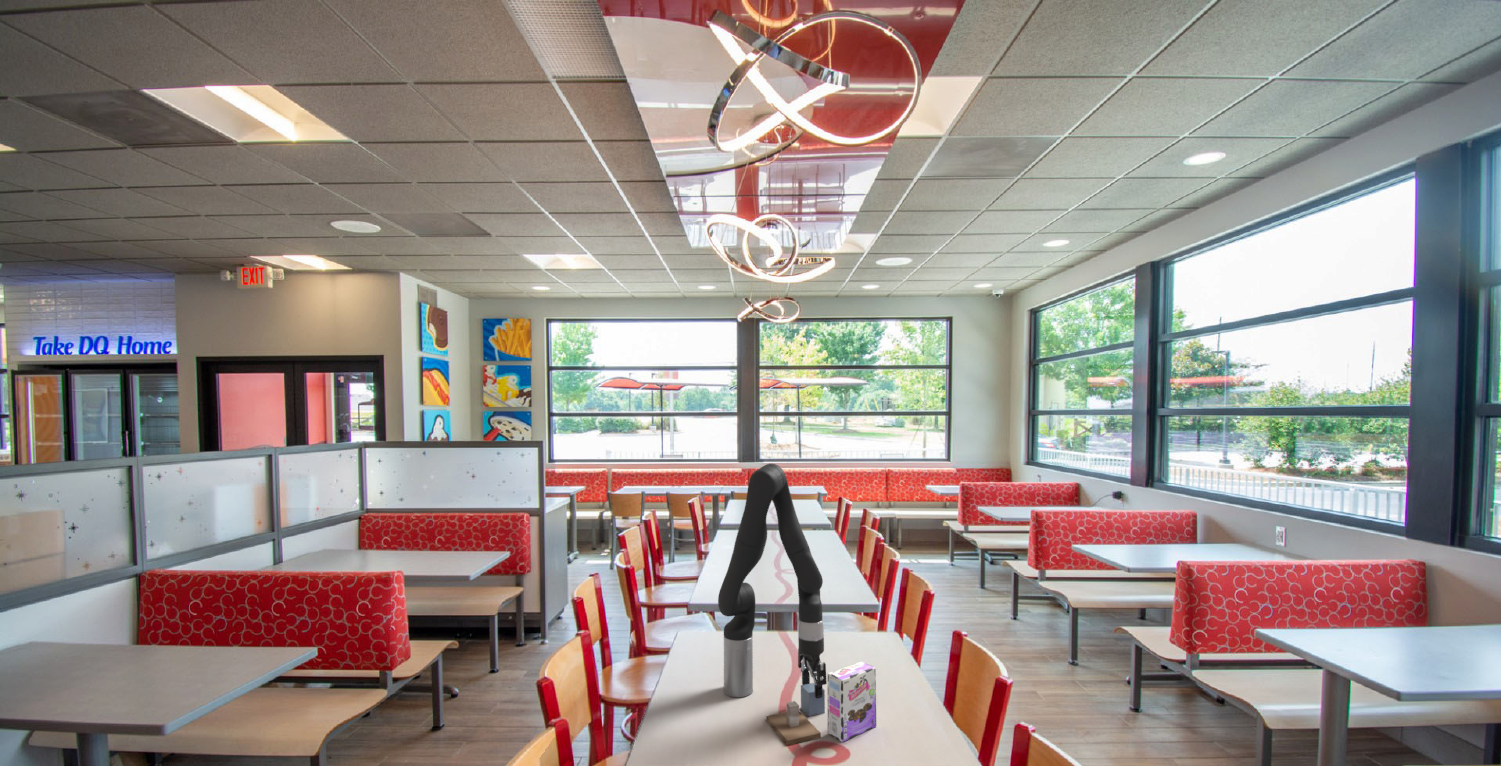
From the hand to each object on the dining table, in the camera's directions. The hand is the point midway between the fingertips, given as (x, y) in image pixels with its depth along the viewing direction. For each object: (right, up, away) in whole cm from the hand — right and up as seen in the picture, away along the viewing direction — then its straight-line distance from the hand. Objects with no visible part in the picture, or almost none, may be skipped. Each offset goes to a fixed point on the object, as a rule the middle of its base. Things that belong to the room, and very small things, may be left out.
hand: (812, 691), depth 175 cm
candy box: (+10, -6, -10) cm, 15 cm away
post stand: (-6, -6, -9) cm, 13 cm away
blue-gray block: (0, -6, +1) cm, 6 cm away
